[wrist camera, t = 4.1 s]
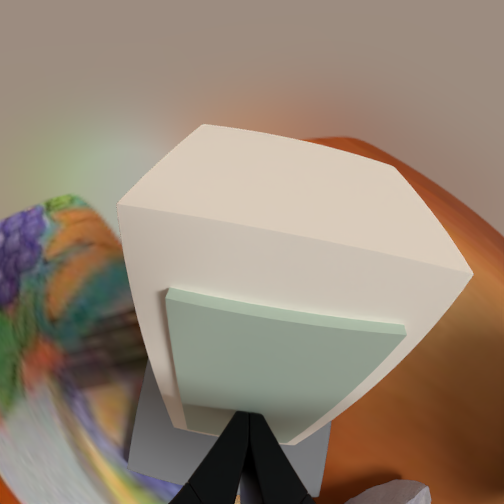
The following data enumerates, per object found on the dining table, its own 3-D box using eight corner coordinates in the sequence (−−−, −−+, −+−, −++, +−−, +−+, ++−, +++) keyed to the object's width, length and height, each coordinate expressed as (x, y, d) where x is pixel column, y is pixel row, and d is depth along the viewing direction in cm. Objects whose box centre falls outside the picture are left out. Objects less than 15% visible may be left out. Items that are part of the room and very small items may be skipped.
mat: (314, 493, 11) (318, 496, 11) (131, 466, 11) (127, 469, 11) (334, 204, 23) (337, 198, 22) (206, 180, 23) (206, 173, 22)
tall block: (294, 449, 11) (479, 283, 4) (173, 431, 11) (107, 212, 3) (297, 364, 15) (393, 166, 8) (194, 347, 15) (202, 124, 8)
